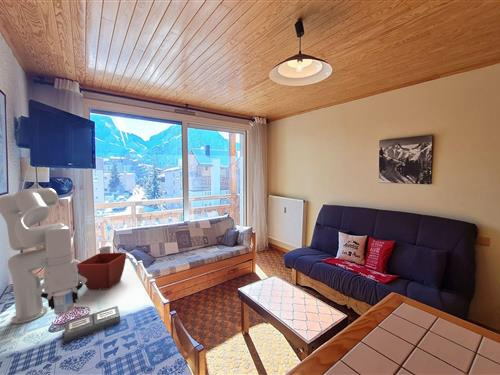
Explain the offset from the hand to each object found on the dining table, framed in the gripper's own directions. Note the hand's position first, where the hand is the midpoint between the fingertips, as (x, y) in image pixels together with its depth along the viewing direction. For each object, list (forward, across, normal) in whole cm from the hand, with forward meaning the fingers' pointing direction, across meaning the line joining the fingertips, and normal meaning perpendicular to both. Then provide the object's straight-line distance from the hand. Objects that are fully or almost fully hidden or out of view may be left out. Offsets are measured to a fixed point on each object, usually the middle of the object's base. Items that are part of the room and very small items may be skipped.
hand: (64, 304), depth 89 cm
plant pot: (+19, +16, +54) cm, 59 cm away
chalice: (+19, +19, +72) cm, 77 cm away
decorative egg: (+19, +1, +70) cm, 72 cm away
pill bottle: (+3, 0, 0) cm, 3 cm away
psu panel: (+18, +9, +10) cm, 23 cm away
